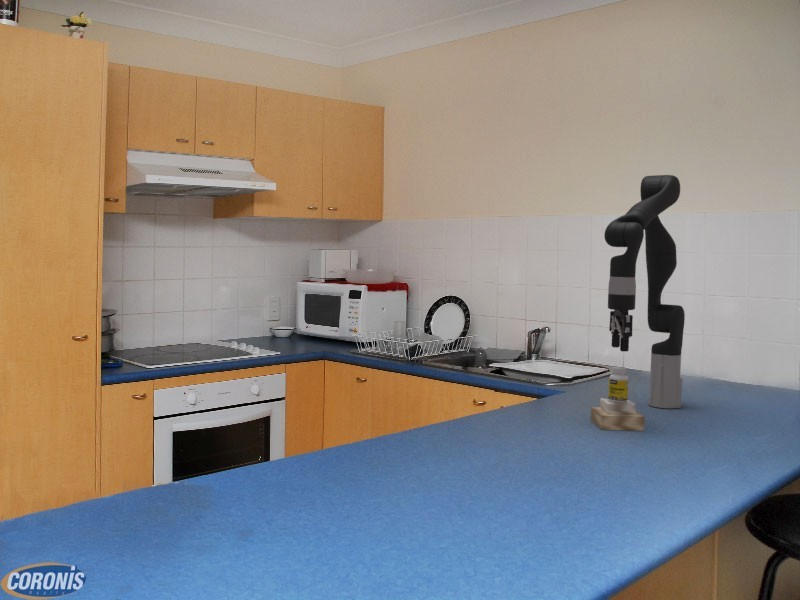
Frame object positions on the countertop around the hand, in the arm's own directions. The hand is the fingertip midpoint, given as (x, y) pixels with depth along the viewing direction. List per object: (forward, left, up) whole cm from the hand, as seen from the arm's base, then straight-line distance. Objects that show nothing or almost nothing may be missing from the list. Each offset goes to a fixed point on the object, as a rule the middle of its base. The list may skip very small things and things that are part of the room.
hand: (619, 349), depth 223 cm
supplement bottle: (0, 0, -15) cm, 15 cm away
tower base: (0, 0, -22) cm, 22 cm away
